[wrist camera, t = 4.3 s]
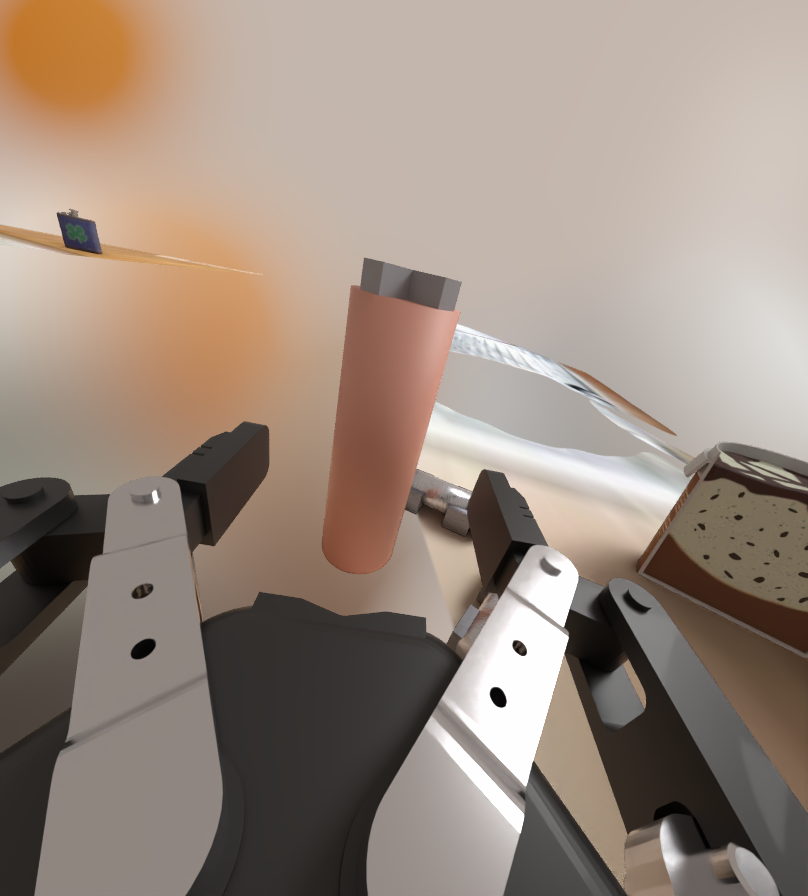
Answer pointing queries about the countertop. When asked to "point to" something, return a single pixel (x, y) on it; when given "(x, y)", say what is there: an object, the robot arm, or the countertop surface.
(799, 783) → the countertop surface
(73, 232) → the flask
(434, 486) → the shaft
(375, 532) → the pink capped rod
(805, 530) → the food container
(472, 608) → the shaft
